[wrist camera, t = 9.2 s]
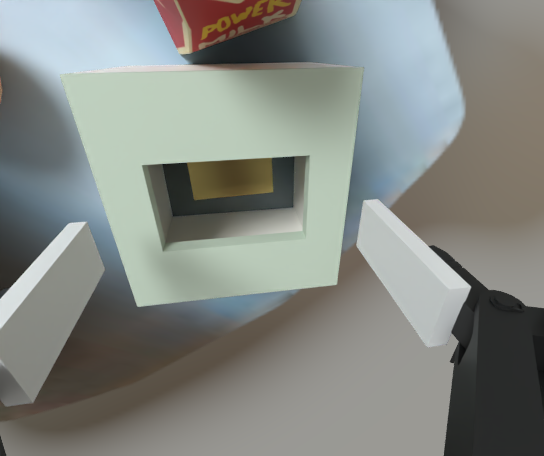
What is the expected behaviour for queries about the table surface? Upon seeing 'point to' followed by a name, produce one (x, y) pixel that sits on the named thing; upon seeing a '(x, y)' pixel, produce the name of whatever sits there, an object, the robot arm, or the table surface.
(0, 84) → the egg
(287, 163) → the table surface
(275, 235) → the coin box
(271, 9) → the milk carton
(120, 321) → the table surface
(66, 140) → the table surface
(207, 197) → the cardboard box
